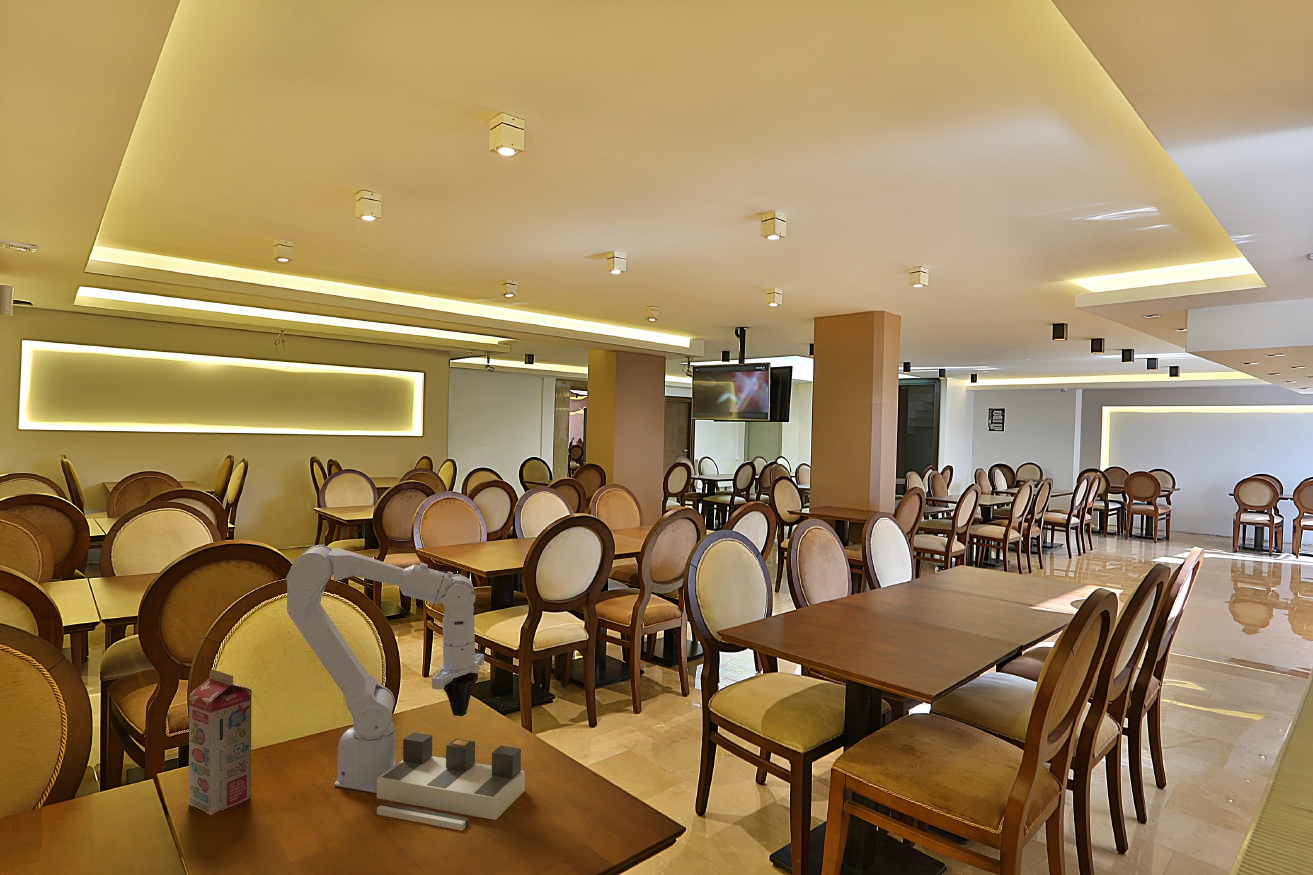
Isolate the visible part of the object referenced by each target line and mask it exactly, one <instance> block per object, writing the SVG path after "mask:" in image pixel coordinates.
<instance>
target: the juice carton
mask: <svg viewBox="0 0 1313 875" xmlns="http://www.w3.org/2000/svg"><path fill="white" fill-rule="evenodd" d="M252 693H253V692H252V689H251V688H248V687H245V686H242V685H239V684H236V683H234V675H233V674H228V673H226V672H222V671H219V670H216V669H213V668H210V669H209V678H208V679H207V680H205V681H204V682H203V683H201V684H200V685H199V686H198V687H196V688H195V689H193V691H192V692H191V693H190V694H189V720H188V721H189V722H188V723H189V728H188V729H189V730H188V734H189V735H188V740H189V742H188V746H189V747H188V748H189V749H188V804H189V803H190V804H192V805H194V806H196V807H198V808H200V809H201V810H203V811H205V812H208V813H209V814H210V808H211V814H212V813H215V812H218V811H220V810H222V811H224V809H225V810H226V808H227V809H229V808H231V806H232V807H233V805H234V806H236V805H238V804H241V803H242V802H246V801H248V800H249V799H251V798H252V797H251V796H252V787H251V786H252V695H253V694H252ZM228 807H229V808H228ZM220 812H221V811H220ZM218 813H219V812H218Z"/></svg>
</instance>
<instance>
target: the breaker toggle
mask: <svg viewBox="0 0 1313 875" xmlns="http://www.w3.org/2000/svg"><path fill="white" fill-rule="evenodd" d="M445 758H446V768H448V769H454V770H460V771H467V770H468V769H469V768H471V767H472V766H473V765H474V764H475V763H476V741H474V740H468V739H459V738H455V739H453V740H451V741H450V742H449V743H447V744H446V745H445Z"/></svg>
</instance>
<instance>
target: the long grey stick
mask: <svg viewBox="0 0 1313 875" xmlns="http://www.w3.org/2000/svg"><path fill="white" fill-rule="evenodd" d="M376 815H379V816H384V817H389V818H395V819H399V820H405V821H409V822H416V823H419V824H420V823H421V824H426V825H432V826H436V827H442V828H448V829H452V830H457V831H463V830H465V828H466V827H468V825H469V817H465V816H459V815H454V814H453V815H452V814H450V813H449V814H448V813H443V812H438V811H437V812H436V811H432V810H428V809H427V810H426V809H421V808H417V807H410V806H406V805H400V804H393V803H387V802H383V803H382V804H381V805H379V806H378V807H376Z"/></svg>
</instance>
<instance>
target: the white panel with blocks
mask: <svg viewBox="0 0 1313 875" xmlns="http://www.w3.org/2000/svg"><path fill="white" fill-rule="evenodd" d="M402 739H403V741H402V749H403V750H402V760H401V761H399V762H398V763H395V766H393V767H392V768H390V769H389V770H387V771H386V772H384V773H383V774H382V775H380V776H379V777H377V793H376V799H380V800H386V801H390V802H396V803H402V804H406V805H413V806H417V807H422V808H428V809H429V808H430V809H435V810H439V811H446V812H451V813H456V814H461V815H462V814H463V815H466V816H472V817H477V818H484V819H488V820H489V819H490V820H493V821H496V820H497V819H499V817H500V816H502V814H503V813H504V812H505V811H506V810H507V809H508V808H509V807H510V806H511V805H512V804H513V803H514V802H516V801H517V799H518V798H519V797H520V796H521V795H522V794H523V793H524V792H525V774H526V772H525V770H521V769H522V766H521V764H522V760H521V759H522V748H519V747H513V746H505V745H500V746H498V747H497V748H496V749H494V750H493V751H492V752H491V765H490V764H489V765H488V764H483V763H478V762H475V764H474V765H473V766H472V767H471V768H469V769H468V770H467V771H460V770H454V769H448V768H446V757H439V756H434V755H433V735H432V734H428V733H427V734H425V733H419V732H412V733H410V734H408V735H407V736H406V737H404V738H402Z"/></svg>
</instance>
